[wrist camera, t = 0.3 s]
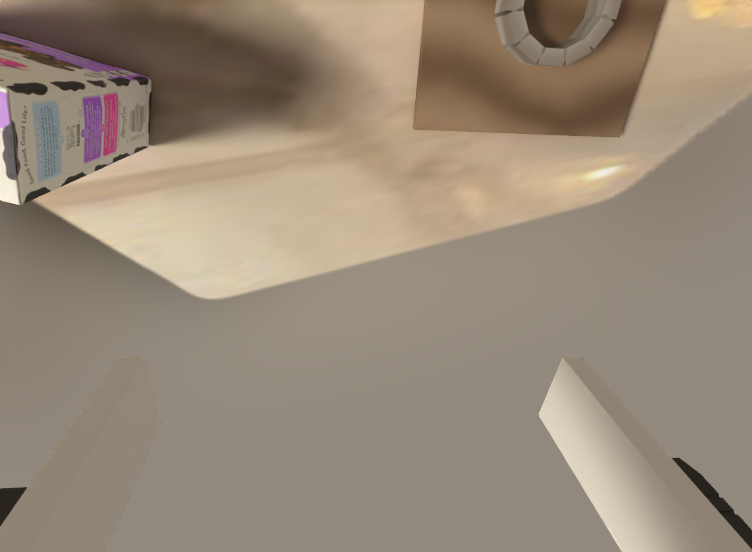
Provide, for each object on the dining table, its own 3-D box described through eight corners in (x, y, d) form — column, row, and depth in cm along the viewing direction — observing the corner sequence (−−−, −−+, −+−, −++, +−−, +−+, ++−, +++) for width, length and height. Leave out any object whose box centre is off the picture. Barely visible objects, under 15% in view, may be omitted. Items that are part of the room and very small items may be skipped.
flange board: (442, -189, 26) (458, -223, 23) (705, -150, 29) (751, -175, 26) (412, 127, 36) (421, 134, 32) (612, 135, 38) (638, 142, 35)
